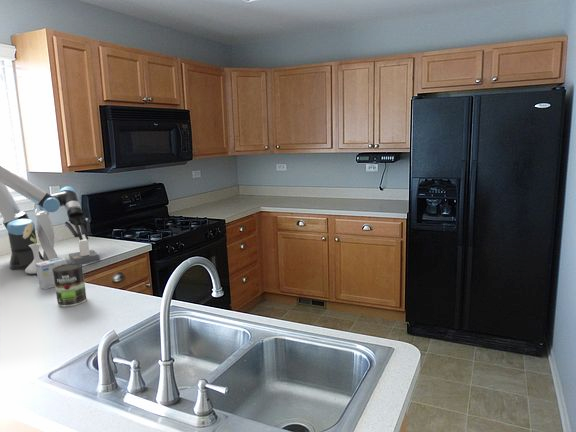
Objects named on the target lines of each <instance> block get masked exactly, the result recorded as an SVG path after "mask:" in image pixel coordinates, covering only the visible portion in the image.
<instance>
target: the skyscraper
mask: <svg viewBox="0 0 576 432" xmlns="http://www.w3.org/2000/svg"><path fill="white" fill-rule="evenodd" d="M49 213H50V212H48V211H46V210H41V211H39V210H38V209H37V208H35V210H34V215H35V218H36V231H37V237H38V239H39V243H40V246H41V247H42V250H43V251H42V252H43V255H42V257H43V259H44V261H48V260H52V259H56V258H59V256H58V254H57V253H56V250H55V248H54V247H55V231H54V225H53V223H52V220H51V218H50V217H49Z"/></svg>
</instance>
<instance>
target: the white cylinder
mask: <svg viewBox="0 0 576 432" xmlns="http://www.w3.org/2000/svg"><path fill="white" fill-rule="evenodd" d="M77 241H78V249H79V252H80V255H81V256H86V255H90V252H89V250H90V247H89V239H88V240H87V239H84V240H80V239H79V240H77Z"/></svg>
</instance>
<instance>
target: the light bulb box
mask: <svg viewBox="0 0 576 432" xmlns="http://www.w3.org/2000/svg"><path fill="white" fill-rule="evenodd" d="M65 264H68V262H67V260H66V258H62V257H59V256H58V258H56V259H52V260H48V261H44V262H40V263H35V265H36V270H37V274H36V275H37V280H38V287H39V288H41V289H43V290H47V289H50V288H53V287H55V282H54V275H53V271H52V269H53V268H55V267H57V266H61V265H65Z"/></svg>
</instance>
